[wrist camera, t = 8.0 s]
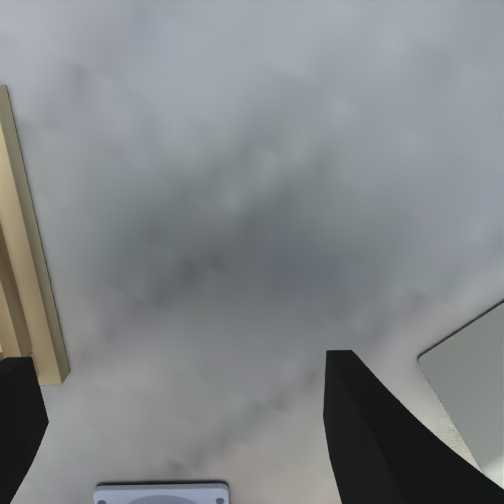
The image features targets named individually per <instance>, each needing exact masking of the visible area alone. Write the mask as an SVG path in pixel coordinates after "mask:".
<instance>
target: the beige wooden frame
mask: <svg viewBox="0 0 504 504" xmlns="http://www.w3.org/2000/svg"><path fill="white" fill-rule="evenodd" d="M7 357H32V359H33V363H34V366H35V370H36V374H37V378H38V382H39V385H62V384H63V382H64V380H65V379H66V377H67V376H68V374H69V372H70V371H69V366H68V362H67V357H66V353H65V348H64V344H63V339H62V335H61V330H60V326H59V321H58V317H57V312H56V308H55V303H54V299H53V295H52V290H51V286H50V281H49V277H48V272H47V268H46V263H45V259H44V254H43V250H42V245H41V241H40V236H39V232H38V227H37V223H36V218H35V214H34V209H33V205H32V200H31V196H30V191H29V187H28V182H27V178H26V173H25V169H24V164H23V160H22V155H21V151H20V146H19V142H18V137H17V133H16V128H15V124H14V119H13V115H12V110H11V106H10V101H9V97H8V92H7V88H6V86H0V361H1V360H3V359H5V358H7Z"/></svg>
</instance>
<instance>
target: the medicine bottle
mask: <svg viewBox="0 0 504 504" xmlns="http://www.w3.org/2000/svg"><path fill="white" fill-rule="evenodd" d="M418 364H419V366H420V368H421V370H422V371H423V373H424V375H425V376H426V378H427V380H428V381H429V383H430V385H431V386H432V388H433V390H434V391H435V393H436V395H437V396H438V398H439V400H440V402H441V403H442V405H443V407H444V408H445V410H446V412H447V413H448V415H449V417H450V418H451V420H452V422H453V423H454V425H455V427H456V429H457V430H458V432H459V434H460V435H461V437H462V439H463V440H464V442H465V444H466V445H467V447H468V449H469V450H470V452H471V454H472V455H473V457H474V459H475V461H476V462H477V464H478V466H479V467H480V469H481V471H482V472H483V473H484V475H485V476H486V477H488V478H489V479H490V480H492V481H493V482H495V483H496V484H497V485H499V486H500V487H501V488H503V489H504V302H503V303H502V304H500V305H499V306H497V307H496V308H494V309H493V310H491V311H490V312H488V313H486V314H485V315H483V316H482V317H480V318H479V319H477V320H476V321H474V322H473V323H471V324H470V325H468V326H467V327H465V328H463V329H462V330H460V331H459V332H457V333H456V334H454V335H453V336H451V337H450V338H448V339H447V340H445V341H444V342H442V343H440V344H439V345H437V346H436V347H434V348H433V349H431V350H430V351H428V352H427V353H425V354H424V355H422V356H421V357H420V358H419V360H418Z"/></svg>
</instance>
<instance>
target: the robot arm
mask: <svg viewBox="0 0 504 504" xmlns="http://www.w3.org/2000/svg"><path fill="white" fill-rule="evenodd" d="M323 419H324V426H325V432H326V439H327V445H328V451H329V457H330V461H331V465H332V468H333V472H334V476H335V480H336V483H337V487H338V491H339V494H340V498H341V502H342V504H504V489H503V488H501V487H500V486H499V485H497V484H496V483H495V482H493V481H492V480H490V479H489V478H488V477H486V476H485V475H484V474H482V473H481V472H480V471H478V470H477V469H476V468H475V467H473V466H472V465H471V464H470V463H468V462H467V461H466V460H464V459H463V458H462V457H461V456H459V455H458V454H457V453H455V452H454V451H453V450H452V449H451V448H449V447H448V446H447V445H446V444H445V443H443V442H442V441H441V440H440V439H439V438H438V437H437V436H435V435H434V434H433V433H432V432H431V431H430V430H429V429H428V428H427V427H425V426H424V425H423V424H422V423H421V422H420V421H419V420H418V419H417V418H416V417H415V416H414V415H413V414H412V413H411V412H410V411H409V410H408V409H407V408H406V407H405V406H404V405H403V404H402V403H401V402H400V401H399V400H398V399H397V398H396V397H395V396H394V395H393V394H392V393H391V392H390V391H389V390H388V389H387V388H386V387H385V386H384V385H383V384H382V383H381V382H380V381H379V379H378V378H377V377H376V376H375V375H374V374H373V373H372V372H371V371H370V370H369V368H368V367H367V366H366V365H365V364H364V363H363V362H362V361H361V359H360V358H359V357H358V356H357V355H356V354H355V353H354V352H353V351H352V350H329V351H326V371H325V390H324V410H323ZM48 423H49V421H48V417H47V413H46V409H45V405H44V401H43V397H42V393H41V390H40V386H39V382H38V378H37V374H36V370H35V366H34V363H33V359H32V357H7V358H5V359H3V360H1V361H0V504H10V503H11V501H12V499H13V497H14V496H15V494H16V492H17V490H18V488H19V486H20V485H21V483H22V481H23V479H24V477H25V476H26V474H27V472H28V470H29V468H30V466H31V465H32V463H33V460H34V458H35V456H36V453H37V451H38V449H39V446H40V444H41V441H42V439H43V436H44V434H45V431H46V428H47V426H48ZM92 497H93V501H94V504H229V489H228V487H227V486H226V485H224V484H221V483H215V484H163V485H111V486H98V487H96V488H95V489H94V492H93V496H92Z"/></svg>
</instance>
